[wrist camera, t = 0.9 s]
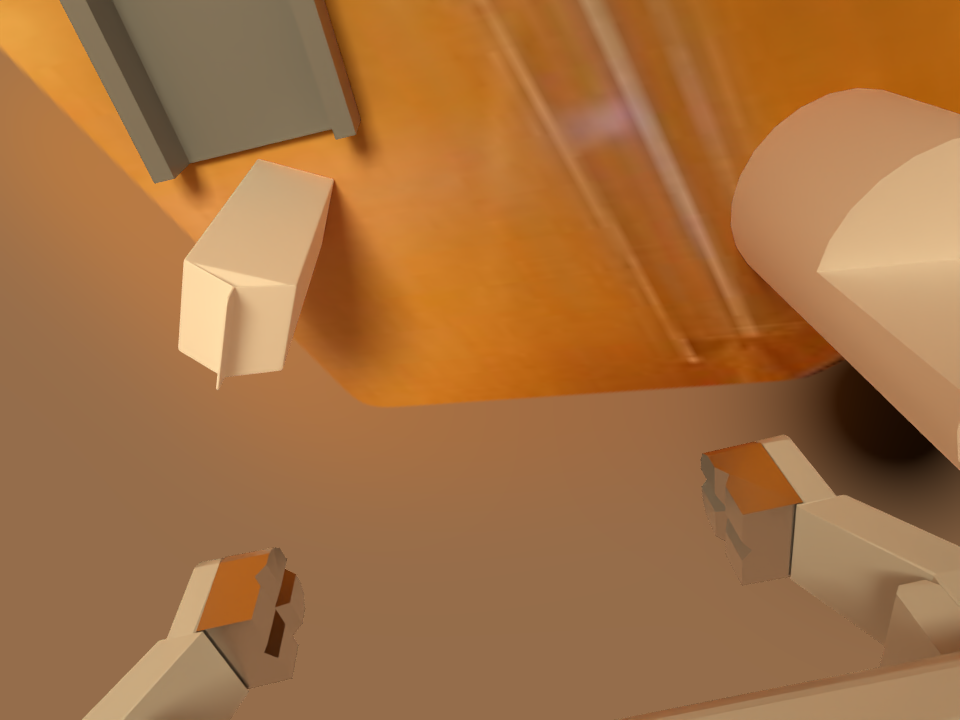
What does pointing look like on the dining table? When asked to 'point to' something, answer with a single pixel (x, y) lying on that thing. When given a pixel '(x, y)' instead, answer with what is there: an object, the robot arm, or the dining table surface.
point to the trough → (216, 74)
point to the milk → (253, 271)
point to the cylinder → (867, 242)
